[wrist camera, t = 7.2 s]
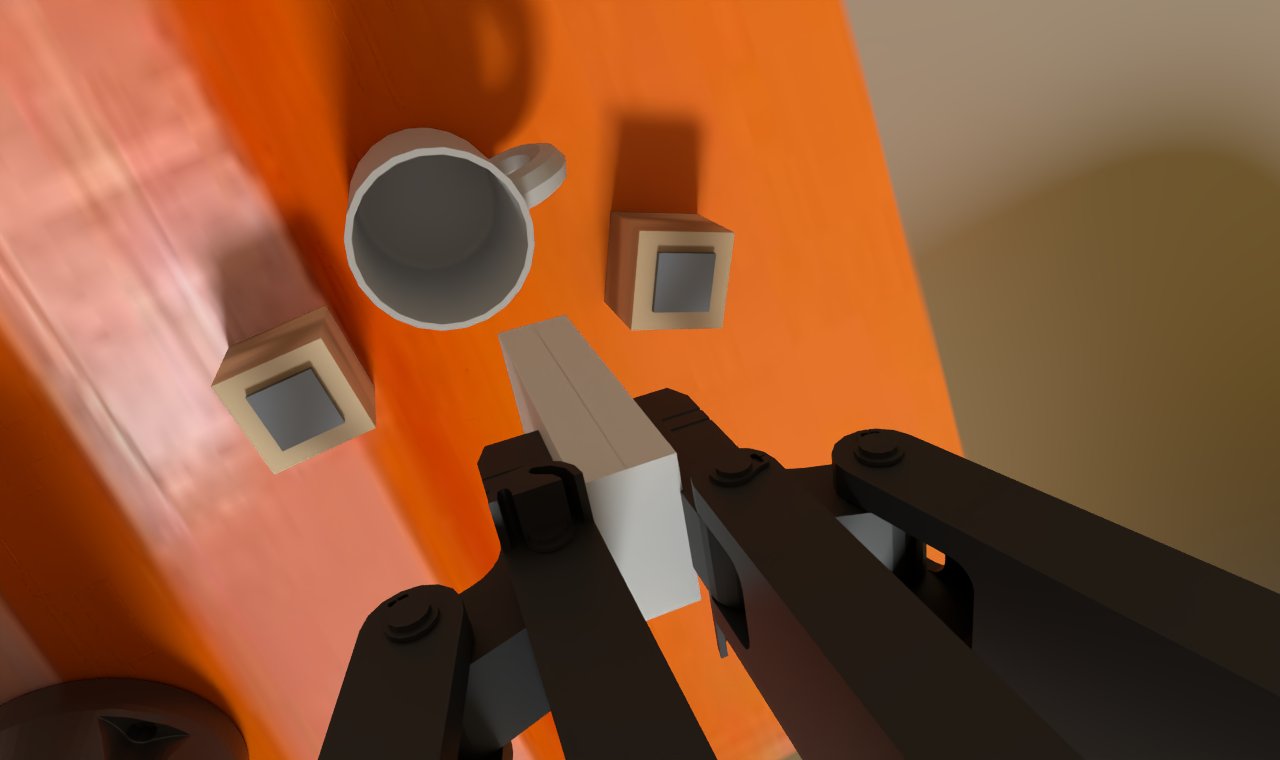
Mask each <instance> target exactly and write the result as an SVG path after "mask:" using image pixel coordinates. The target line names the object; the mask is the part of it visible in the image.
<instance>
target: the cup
mask: <svg viewBox="0 0 1280 760" xmlns="http://www.w3.org/2000/svg"><path fill="white" fill-rule="evenodd" d="M566 176H567V174H566V160H565V156H564V155H563V154H562V153H561V152H560V151H559V150H558V149H557V148H555V147H554V146H553V145H551V144H548V143H536V144H526V145H520V146H517V147H514V148H511V149H509V150H506V151H504V152H502V153H500V154H498V155H496V156H494V157H492V158H490V159H488V158H486V157H485V156H484V155H483V154H482V153H481V152H480V151H479V150H477V149H476V148H475V147H474V146H473V145H472V144H471V143H469V142H468V141H466V140H464V139H462V138H460V137H458V136H456V135H454V134H452V133H450V132H447V131H442V130H438V129H433V128H428V127H425V128H407V129H404V130H401V131H398V132H395V133H392V134H389V135H387V136H386V137H384V138H383V139H382V140H380V141H379V142H377V143H376V144H374V145H373V146H372V147H371V148H370V149H369V150H368V152H367V153H366V154H365V155H364V157H363V158H362V159H361V160H360V161H359V163H358V165H357V167H356V170H355V172H354V175H353V177H352V180H351V182H350V190H349V198H348V207H347V216H346V225H345V235H344V243H345V248H346V253H347V259H348V264H349V266H350V268H351V270H352V273H353V275H354V277H355V279H356V281H357V283H358V285H359V287H360V288H361V289H362V290H363V291H364V293H365V294H366V295H367V296H368V297H369V298H370V299H371V301H372V302H373V303H374V304H375V305H376V306H377V307H379V308H380V309H382V310H383V311H385V312H386V313H387V314H389V315H390V316H392V317H393V318H395V319H396V320H399V321H402V322H404V323H407V324H410V325H412V326H415V327H418V328H424V329H433V330H441V331H444V330H451V329H459V328H466V327H469V326H471V325H474V324H477V323H479V322H482V321H484V320H487V319H489V318H490V317H491V316H493V315H494V314H496V313H497V312H498V311H500V310H501V309H503V308H504V307H505V306H507V304H508V303H509V302H510V301H511V300H512V298H513V297H514V296H515V295H516V294H517V293H518V291H519V290H520V289H521V287H522V285H523V283H524V281H525V279H526V277H527V274H528V272H529V270H530V268H531V262H532V257H533V252H534V246H535V245H534V233H533V222H532V219H531V216H530V214H529V211H528V209H530V208H532V207H534V206H536V205H537V204H539V203H540V202H542V201H544V200H545V199H547V198H548V197H549V196H550V195H551V194H552V193H553V192H554V191H555V190H556V189H557V188H558V187H559V186H560V185H561V184H562V183H563V181H564V179H565V178H566Z"/></svg>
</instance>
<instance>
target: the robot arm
mask: <svg viewBox="0 0 1280 760" xmlns="http://www.w3.org/2000/svg"><path fill="white" fill-rule="evenodd" d="M498 337H499V341H500V344H501V348H502V352H503V355H504V359H505V363H506V367H507V370H508V374H509V378H510V382H511V385H512V389H513V393H514V396H515V400H516V404H517V408H518V411H519V415H520V419H521V422H522V426H523V430H524V434H523V435H520V436H517V437H514V438H511V439H507V440H504V441H501V442H498V443H494V444H491V445H488V446H485V447H484V449H483V451H482V454H481V456H480V458H479V461H478V463H477V465H478V468H479V471H480V475H481V478H482V481H483V485H484V488H485V492H486V495H487V498H488V505H489V508H490V511H491V514H492V518H493V521H494V524H495V527H496V531H497V534H498V537H499V540H500V544H501V551H500V555H499V558H498V560H497V562H496V563H495V565H494V567H493V568H492V569H491V570H490V571H489V572H488V573H487V574H486V575H485V577H484V578H483V579H481V580H480V581H478V582H477V583H476V584H474V585H473V586H471V587H470V588H468V589H467V590H465V591H463V592H462V593H460V594H458V593H457V592H456V591H455V590H454V589H453V588H449V587H446V586H442V585H439V584H437V585H421V586H417V587H414V588H411V589H408V590H405V591H402V592H399V593H398V594H396V595H394V596H393V597H391V598H389V599H387V600H386V601H384V602H382V603H381V604H380V605H379V606H378V607H377V608H376V609H375V610H374V611H373V612H372V613H371V614H370V615H369V616H368V617H367V619H366V621H365V622H364V624H363V626H362V628H361V629H360V631H359V634H358V638H357V641H356V644H355V647H354V650H353V653H352V656H351V659H350V662H349V665H348V668H347V671H346V675H345V678H344V681H343V684H342V687H341V690H340V693H339V696H338V699H337V702H336V705H335V708H334V712H333V715H332V718H331V721H330V724H329V727H328V730H327V733H326V736H325V739H324V742H323V745H322V749H321V752H320V755H319V758H318V760H513V748H512V743H511V740H512V739H513V738H515V737H516V736H517V735H519V734H520V733H522V732H523V731H524V730H526V729H527V728H528V727H530V726H531V725H532V724H534V723H535V722H536V721H538V720H539V719H540V718H542V717H543V716H544V715H546V714H547V713H548V712H550V711H551V713H552V716H553V719H554V722H555V726H556V729H557V732H558V736H559V739H560V742H561V746H562V749H563V752H564V756H565V759H566V760H717V758H716V756H715V754H714V752H713V750H712V748H711V746H710V744H709V742H708V741H707V739H706V737H705V735H704V733H703V731H702V729H701V727H700V725H699V723H698V721H697V719H696V717H695V715H694V713H693V711H692V710H691V708H690V706H689V704H688V702H687V700H686V698H685V696H684V694H683V692H682V690H681V688H680V686H679V684H678V682H677V681H676V679H675V677H674V675H673V673H672V671H671V669H670V667H669V665H668V663H667V661H666V659H665V657H664V655H663V653H662V652H661V650H660V648H659V646H658V644H657V642H656V640H655V638H654V636H653V634H652V632H651V630H650V628H649V626H648V624H647V622H646V621H647V620H650V619H652V618H655V617H657V616H660V615H663V614H665V613H668V612H671V611H673V610H676V609H678V608H681V607H684V606H686V605H689V604H692V603H694V602H697V601H699V600H701V595H700V589H699V583H698V577H697V574H698V575H699V577H700V578H701V580H702V582H703V583H704V585H705V586H706V588H707V589H708V591H709V596H710V602H711V608H712V614H713V620H714V626H715V633H716V639H717V645H718V649H719V652H720V656H721V658H724V657H726V656H728V653H727V646H726V641H728V642H729V644H730V645H731V647H732V649H733V650H734V652H735V653H736V655H737V656H738V658H739V660H740V661H741V663H742V664H743V666H744V668H745V669H746V671H747V672H748V674H749V676H750V677H751V679H752V680H753V682H754V683H755V685H756V687H757V688H758V690H759V691H760V693H761V695H762V696H763V698H764V699H765V701H766V703H767V704H768V706H769V707H770V709H771V710H772V712H773V714H774V715H775V717H776V718H777V720H778V722H779V723H780V725H781V726H782V728H783V730H784V731H785V733H786V734H787V736H788V737H789V739H790V741H791V742H792V744H793V745H794V747H795V749H796V750H797V752H798V753H799V755H800V756H801V758H802V760H1280V594H1278V593H1276V592H1274V591H1271V590H1269V589H1267V588H1264V587H1262V586H1260V585H1258V584H1255V583H1253V582H1251V581H1248V580H1246V579H1243V578H1241V577H1239V576H1236V575H1234V574H1232V573H1230V572H1227V571H1225V570H1223V569H1220V568H1218V567H1216V566H1213V565H1211V564H1209V563H1206V562H1204V561H1202V560H1199V559H1197V558H1195V557H1192V556H1190V555H1188V554H1186V553H1183V552H1181V551H1179V550H1176V549H1174V548H1172V547H1169V546H1167V545H1164V544H1162V543H1160V542H1158V541H1155V540H1153V539H1151V538H1148V537H1146V536H1144V535H1141V534H1139V533H1137V532H1134V531H1132V530H1130V529H1127V528H1125V527H1122V526H1120V525H1118V524H1116V523H1114V522H1111V521H1109V520H1106V519H1104V518H1102V517H1100V516H1097V515H1094V514H1093V513H1090V512H1088V511H1086V510H1083V509H1081V508H1079V507H1076V506H1074V505H1072V504H1069V503H1067V502H1065V501H1062V500H1060V499H1058V498H1055V497H1053V496H1051V495H1048V494H1046V493H1044V492H1042V491H1039V490H1037V489H1035V488H1032V487H1030V486H1028V485H1025V484H1023V483H1020V482H1018V481H1016V480H1014V479H1011V478H1009V477H1007V476H1004V475H1002V474H1000V473H997V472H995V471H993V470H990V469H988V468H986V467H983V466H981V465H979V464H977V463H974V462H972V461H970V460H967V459H965V458H963V457H960V456H958V455H956V454H953V453H951V452H949V451H946V450H944V449H942V448H939V447H937V446H935V445H932V444H930V443H928V442H925V441H923V440H921V439H918V438H916V437H914V436H911V435H909V434H906V433H902V432H899V431H895V430H886V429H869V430H862V431H857V432H855V433H852V434H849V435H847V436H844V437H843V438H842V439H841V440H839V441H838V442H837V443H836V444H835V445H834V448H833V451H832V464H831V465H823V466H816V467H808V468H797V469H785V468H784V467H783V466H782V465H781V464H780V463H779V462H778V461H777V460H776V459H775V458H773V457H771V456H770V455H768V454H767V453H765V452H763V451H758V450H754V449H750V448H738V447H737V446H736V445H735V444H734V443H733V442H732V440H731V439H730V438H729V437H728V436H727V435H726V434H725V433H724V432H723V431H722V430H721V429H720V428H719V427H718V426H717V425H716V424H715V423H714V422H713V421H712V420H710V419H709V417H708V416H707V415H706V414H705V413H704V412H703V411H702V410H700V408H699V407H698V406H697V405H696V404H695V403H694V401H693V400H692V399H691V398H690V397H689V396H688V395H685V394H682V393H680V392H677V391H674V390H671V389H669V388H665V389H662V390H659V391H655V392H652V393H649V394H646V395H643V396H639V397H636V398H632V397H631V396H630V395H629V393H628V392H627V391H626V390H625V388H624V387H623V386H622V385H621V383H620V382H619V381H618V380H617V378H616V377H615V376H614V375H613V373H612V372H611V371H610V370H609V368H608V367H607V366H606V365H605V364H604V362H603V361H602V360H601V359H600V357H599V356H598V355H597V354H596V352H595V351H594V350H593V349H592V347H591V346H590V345H589V344H588V342H587V341H586V340H585V339H584V337H583V336H582V335H581V334H580V332H579V331H578V330H577V329H576V328H575V326H574V325H573V324H572V323H571V321H570V320H569V319H568V318H567V316H566V315H563V316H559V317H555V318H552V319H548V320H545V321H541V322H537V323H534V324H530V325H527V326H523V327H519V328H516V329H512V330H509V331H505V332H501V333H498ZM926 544H928V545H929V546H931V547H933V548H935V549H937V550H938V551H940V552H942V553H944V554H945V565H941V564H938V563H936V562H934V561H932V560H930V559H929V558H927V557H926ZM0 760H249V756H248V751H247V747H246V744H245V742H244V739H243V737H242V735H241V734H240V732H239V730H238V729H237V727H236V726H235V725H234V724H233V722H232V721H231V720H230V719H229V718H228V717H227V716H226V715H225V714H224V713H223V712H222V711H220V710H219V709H218V708H216V707H215V706H214V705H212V704H211V703H209V702H207V701H206V700H204V699H202V698H200V697H198V696H196V695H194V694H192V693H189V692H187V691H184V690H182V689H179V688H176V687H172V686H169V685H165V684H160V683H156V682H150V681H144V680H135V679H115V678H108V679H91V680H81V681H74V682H69V683H63V684H59V685H54V686H50V687H47V688H43V689H40V690H37V691H34V692H31V693H28V694H25V695H23V696H20V697H18V698H16V699H13V700H11V701H9V702H7V703H5V704H3V705H1V706H0Z"/></svg>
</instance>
